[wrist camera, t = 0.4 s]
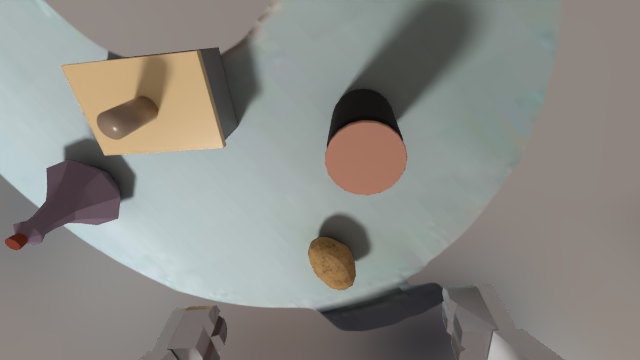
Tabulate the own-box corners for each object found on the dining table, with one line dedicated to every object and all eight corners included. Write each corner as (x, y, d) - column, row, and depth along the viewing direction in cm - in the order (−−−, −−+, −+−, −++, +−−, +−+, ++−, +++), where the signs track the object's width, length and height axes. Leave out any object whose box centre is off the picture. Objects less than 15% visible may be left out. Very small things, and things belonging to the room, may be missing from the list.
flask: (49, 180, 70) (-51, 238, 52) (79, 135, 63) (-25, 184, 46) (114, 225, 75) (42, 291, 57) (147, 187, 68) (77, 250, 51)
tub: (107, 59, 55) (71, 67, 48) (218, 47, 52) (197, 53, 45) (137, 133, 61) (110, 149, 55) (238, 126, 59) (222, 142, 52)
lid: (74, 62, 49) (9, 76, 40) (204, 48, 46) (166, 59, 37) (114, 149, 56) (67, 177, 47) (229, 141, 53) (203, 170, 44)
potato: (337, 218, 67) (335, 243, 60) (364, 262, 73) (365, 289, 66) (299, 233, 70) (293, 258, 64) (328, 274, 76) (326, 301, 69)
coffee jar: (346, 152, 59) (344, 205, 44) (322, 102, 55) (310, 141, 39) (400, 131, 56) (418, 180, 41) (379, 76, 52) (391, 107, 36)
